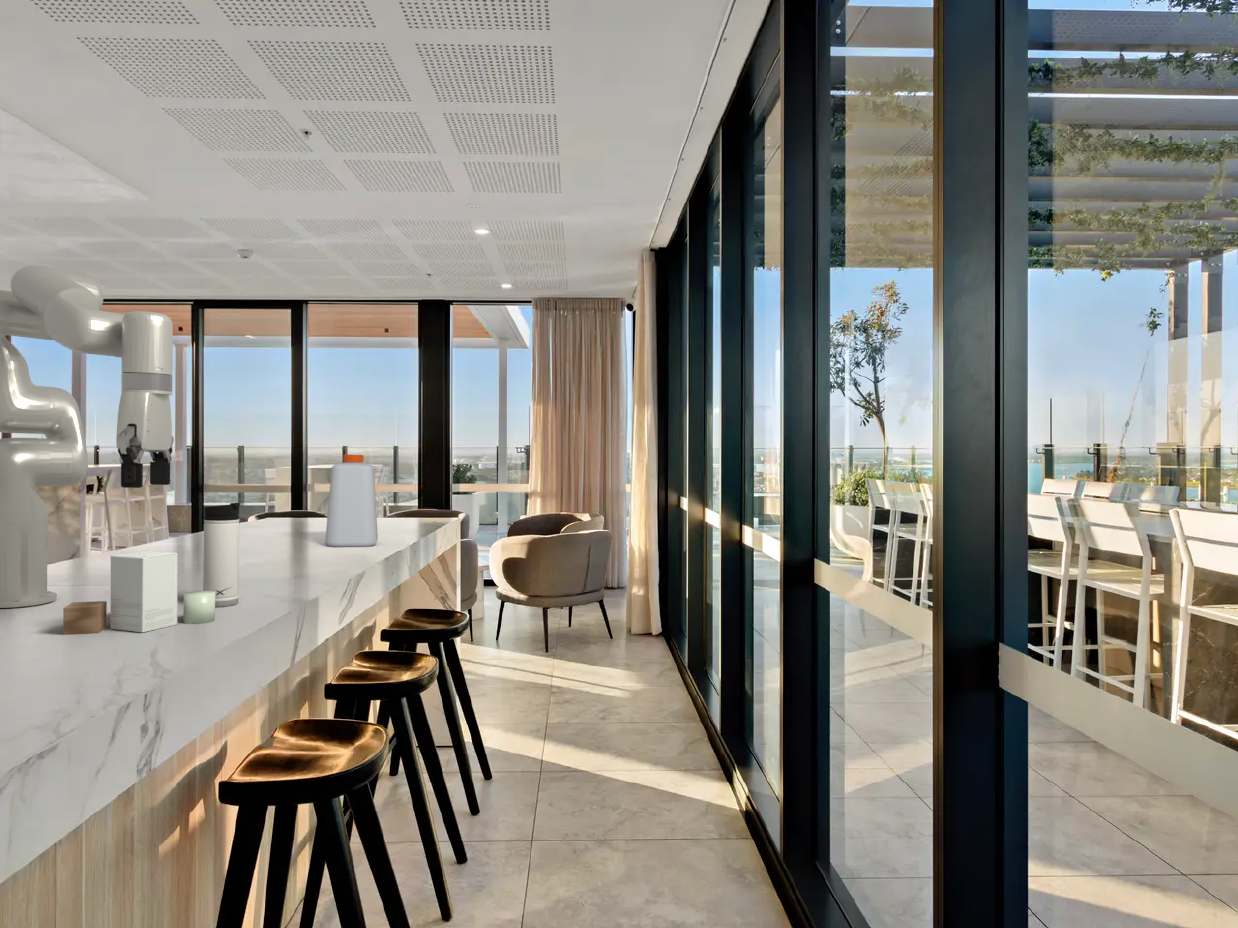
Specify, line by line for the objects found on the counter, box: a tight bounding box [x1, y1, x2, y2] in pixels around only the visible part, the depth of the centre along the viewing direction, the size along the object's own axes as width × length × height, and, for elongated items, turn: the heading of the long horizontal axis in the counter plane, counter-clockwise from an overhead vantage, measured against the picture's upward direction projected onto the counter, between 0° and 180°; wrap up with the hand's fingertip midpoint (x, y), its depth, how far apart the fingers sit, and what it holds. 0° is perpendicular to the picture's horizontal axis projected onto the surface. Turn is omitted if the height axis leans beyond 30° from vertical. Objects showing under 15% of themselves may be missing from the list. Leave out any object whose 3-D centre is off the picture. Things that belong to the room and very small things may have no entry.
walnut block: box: [62, 600, 108, 636], centre depth 137 cm, size 5×5×4 cm
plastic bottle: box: [325, 454, 379, 548], centre depth 257 cm, size 15×15×28 cm
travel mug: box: [202, 502, 241, 608], centre depth 161 cm, size 6×7×20 cm
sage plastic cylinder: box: [182, 590, 216, 625], centre depth 146 cm, size 5×5×5 cm
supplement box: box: [110, 550, 178, 633], centre depth 141 cm, size 7×7×13 cm
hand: (146, 486), depth 140 cm, fingers open, 9 cm apart
